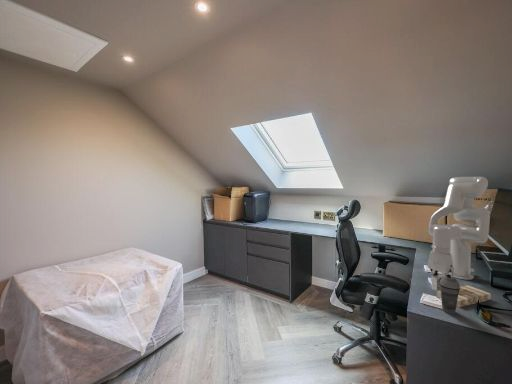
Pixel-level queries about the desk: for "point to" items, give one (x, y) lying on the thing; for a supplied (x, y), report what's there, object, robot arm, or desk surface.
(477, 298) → the slatted wooden pallet
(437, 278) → the clip
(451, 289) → the beverage cup
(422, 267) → the desk surface
